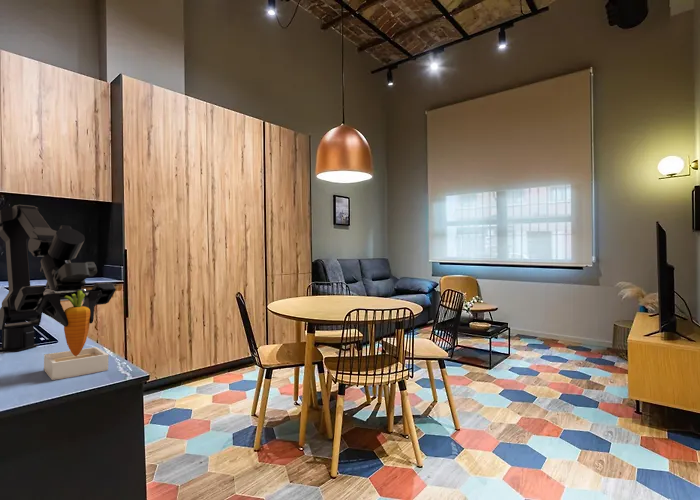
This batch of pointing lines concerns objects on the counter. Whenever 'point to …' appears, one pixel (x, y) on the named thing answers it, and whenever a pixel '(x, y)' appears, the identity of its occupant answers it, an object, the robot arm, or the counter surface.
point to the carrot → (77, 323)
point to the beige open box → (75, 363)
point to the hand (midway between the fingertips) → (79, 323)
